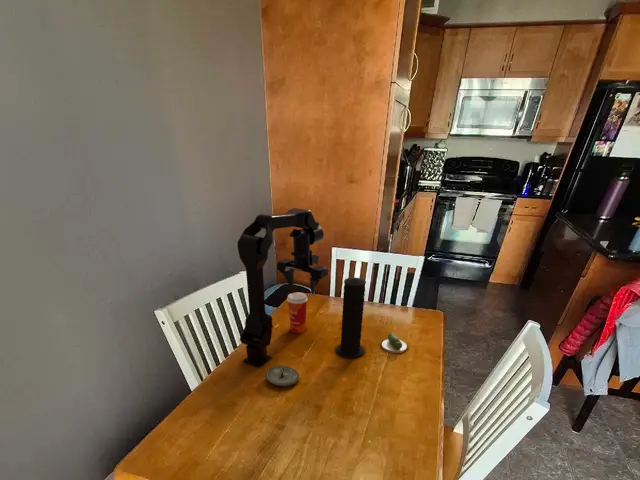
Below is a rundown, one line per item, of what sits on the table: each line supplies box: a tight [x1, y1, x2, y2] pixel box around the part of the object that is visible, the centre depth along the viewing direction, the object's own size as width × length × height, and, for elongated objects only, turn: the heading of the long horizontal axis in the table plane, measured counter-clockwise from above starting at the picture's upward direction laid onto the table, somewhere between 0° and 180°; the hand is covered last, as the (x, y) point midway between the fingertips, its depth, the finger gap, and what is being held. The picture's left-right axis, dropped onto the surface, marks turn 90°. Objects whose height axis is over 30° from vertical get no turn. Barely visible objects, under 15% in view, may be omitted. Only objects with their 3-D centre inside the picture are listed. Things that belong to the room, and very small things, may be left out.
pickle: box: [381, 332, 408, 354], centre depth 131 cm, size 9×9×4 cm
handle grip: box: [335, 277, 367, 359], centre depth 122 cm, size 10×26×10 cm
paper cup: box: [286, 291, 309, 334], centre depth 137 cm, size 8×8×14 cm
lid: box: [265, 365, 300, 387], centre depth 113 cm, size 11×10×5 cm
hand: (302, 291), depth 135 cm, fingers open, 9 cm apart
